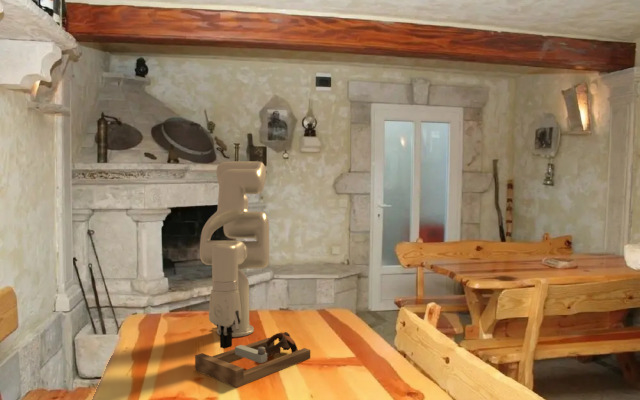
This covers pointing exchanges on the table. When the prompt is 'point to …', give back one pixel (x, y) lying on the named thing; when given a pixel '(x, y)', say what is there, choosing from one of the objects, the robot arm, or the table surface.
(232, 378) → the frame
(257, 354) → the gray rectangular bar
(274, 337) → the pottery mug
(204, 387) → the table surface
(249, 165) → the robot arm
